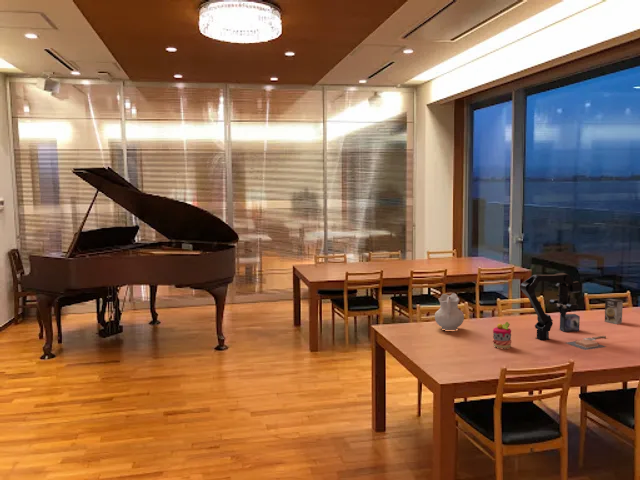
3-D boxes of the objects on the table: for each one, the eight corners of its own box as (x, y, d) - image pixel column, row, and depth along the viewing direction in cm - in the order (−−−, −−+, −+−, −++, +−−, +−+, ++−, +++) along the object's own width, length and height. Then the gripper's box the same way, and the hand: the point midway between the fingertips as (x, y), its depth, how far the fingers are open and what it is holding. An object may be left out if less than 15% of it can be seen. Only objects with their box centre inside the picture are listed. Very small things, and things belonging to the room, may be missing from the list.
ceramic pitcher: (467, 335, 351) (469, 298, 348) (437, 334, 351) (440, 296, 349) (459, 327, 372) (461, 292, 370) (431, 325, 372) (433, 290, 370)
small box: (564, 332, 348) (564, 316, 347) (559, 329, 354) (559, 314, 353) (579, 331, 348) (580, 315, 347) (574, 329, 354) (575, 313, 353)
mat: (584, 350, 308) (584, 350, 308) (564, 343, 323) (564, 342, 323) (606, 347, 313) (606, 346, 312) (585, 340, 328) (585, 339, 328)
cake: (499, 350, 314) (499, 325, 312) (489, 345, 324) (489, 321, 323) (515, 348, 317) (515, 323, 315) (504, 343, 327) (504, 319, 325)
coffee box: (604, 321, 371) (604, 298, 370) (610, 320, 374) (610, 297, 372) (616, 324, 363) (616, 301, 361) (622, 323, 365) (623, 300, 364)
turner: (588, 341, 325) (588, 339, 325) (582, 339, 330) (582, 337, 330) (608, 339, 330) (608, 337, 330) (601, 336, 335) (601, 335, 334)
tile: (575, 344, 319) (585, 347, 312) (575, 341, 319) (585, 344, 311) (587, 342, 322) (598, 346, 314) (587, 339, 322) (598, 342, 314)
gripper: (585, 294, 326) (585, 319, 327) (563, 289, 343) (562, 313, 345) (570, 296, 322) (570, 321, 324) (549, 291, 340) (548, 315, 342)
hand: (563, 317), depth 334 cm, fingers closed
